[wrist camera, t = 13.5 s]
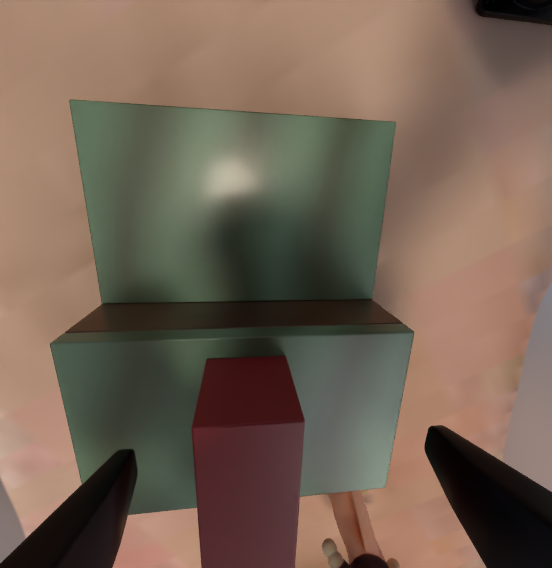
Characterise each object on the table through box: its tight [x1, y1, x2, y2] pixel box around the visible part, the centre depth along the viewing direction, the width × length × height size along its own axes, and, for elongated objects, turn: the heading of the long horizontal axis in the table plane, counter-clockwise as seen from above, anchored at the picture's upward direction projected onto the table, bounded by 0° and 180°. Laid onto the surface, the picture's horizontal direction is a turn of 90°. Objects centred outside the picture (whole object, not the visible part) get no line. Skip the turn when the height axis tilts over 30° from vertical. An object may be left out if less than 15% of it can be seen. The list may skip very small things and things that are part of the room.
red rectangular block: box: [191, 356, 305, 568], centre depth 12 cm, size 4×8×4 cm, turn 178°
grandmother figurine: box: [322, 490, 400, 568], centre depth 21 cm, size 8×4×13 cm, turn 67°
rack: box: [50, 100, 414, 515], centre depth 16 cm, size 16×20×8 cm
